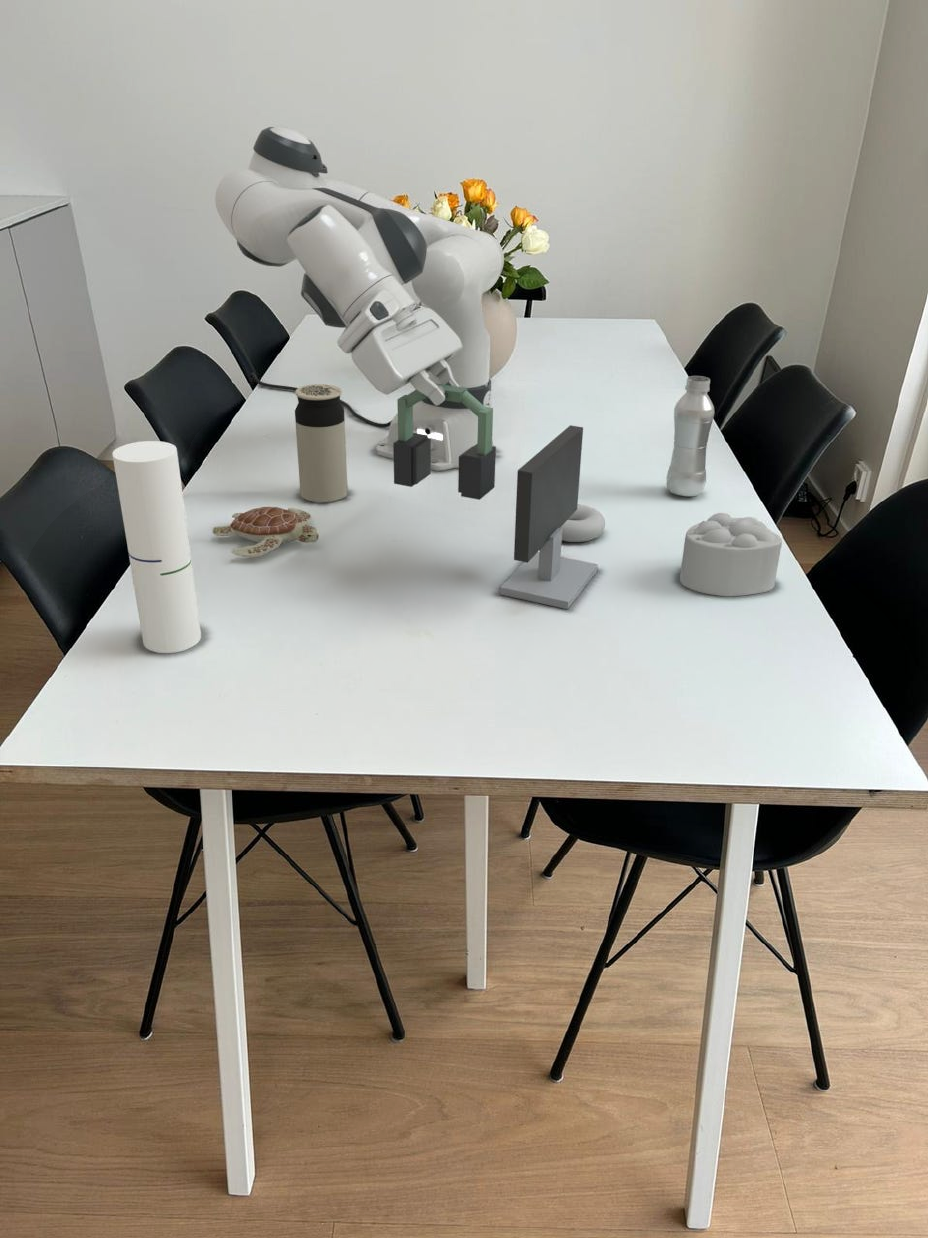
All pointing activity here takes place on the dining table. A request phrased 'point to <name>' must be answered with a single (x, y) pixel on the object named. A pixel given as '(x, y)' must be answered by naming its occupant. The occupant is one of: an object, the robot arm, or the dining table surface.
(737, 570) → the lumpy-topped squat cylinder
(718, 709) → the dining table surface
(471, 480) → the headphones
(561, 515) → the monitor
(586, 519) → the donut
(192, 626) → the cylindrical container
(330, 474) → the travel mug
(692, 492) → the plastic bottle
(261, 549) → the decorative turtle
